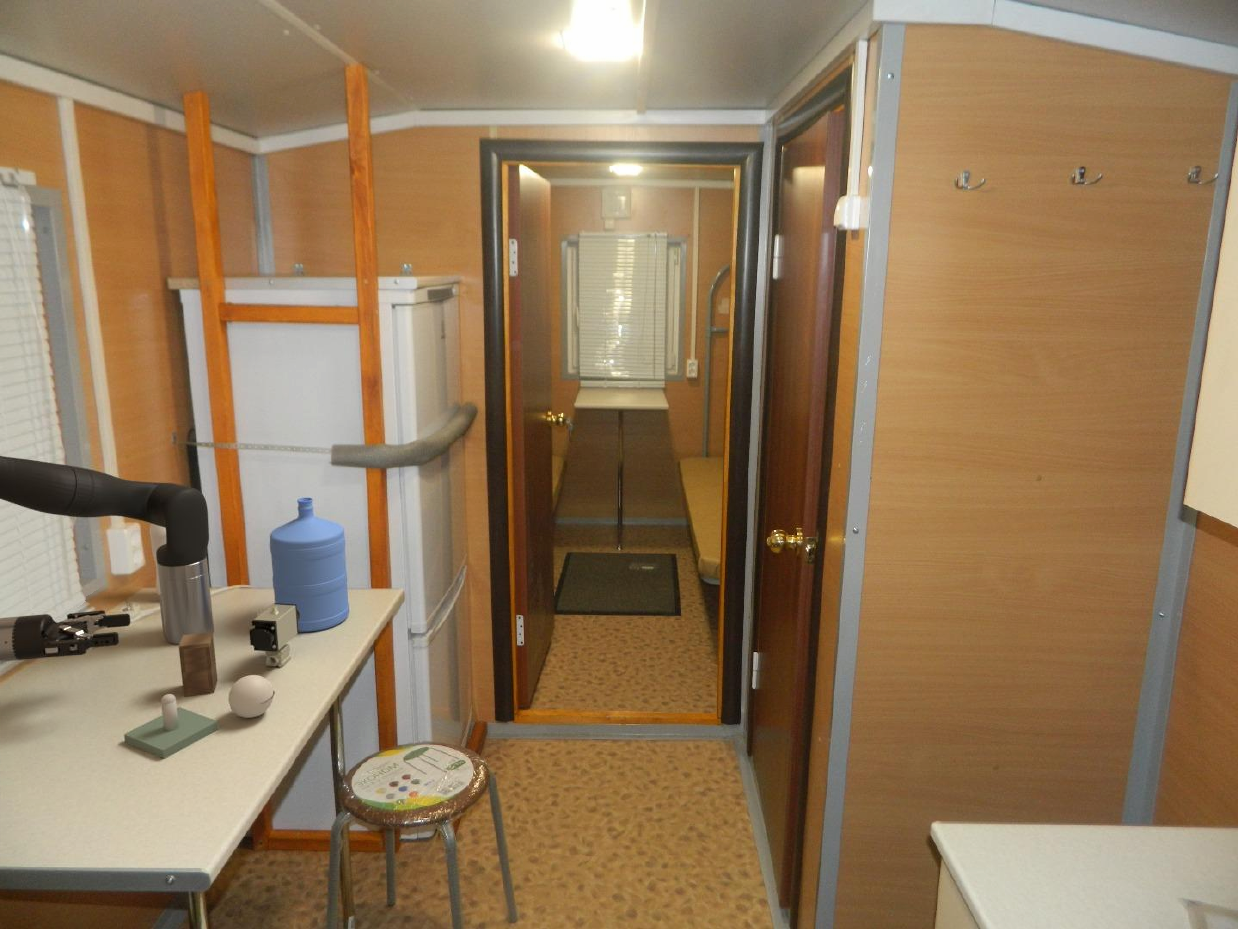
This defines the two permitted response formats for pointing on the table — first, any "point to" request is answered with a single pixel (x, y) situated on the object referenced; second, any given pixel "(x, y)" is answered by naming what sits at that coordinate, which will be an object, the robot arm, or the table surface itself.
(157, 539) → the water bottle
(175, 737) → the stub base
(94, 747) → the table surface
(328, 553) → the water jug
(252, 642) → the pneumatic valve
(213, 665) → the brown wooden block
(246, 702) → the seamed sphere
